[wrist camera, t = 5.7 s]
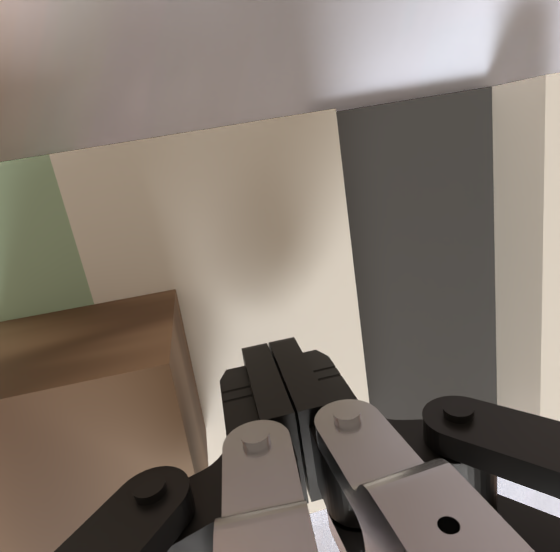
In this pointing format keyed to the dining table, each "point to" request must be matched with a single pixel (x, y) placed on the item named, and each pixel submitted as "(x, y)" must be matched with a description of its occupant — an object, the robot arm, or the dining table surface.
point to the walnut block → (91, 412)
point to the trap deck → (321, 244)
